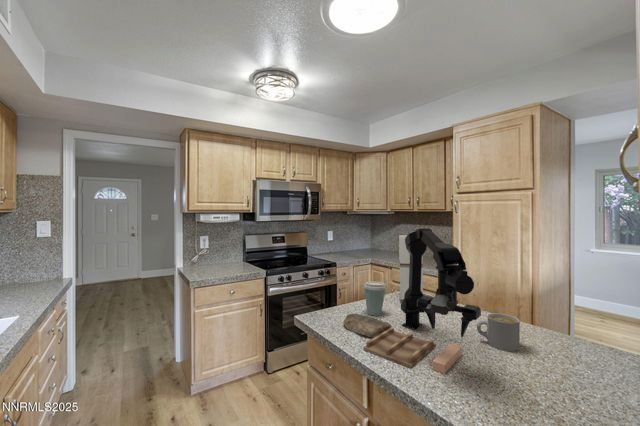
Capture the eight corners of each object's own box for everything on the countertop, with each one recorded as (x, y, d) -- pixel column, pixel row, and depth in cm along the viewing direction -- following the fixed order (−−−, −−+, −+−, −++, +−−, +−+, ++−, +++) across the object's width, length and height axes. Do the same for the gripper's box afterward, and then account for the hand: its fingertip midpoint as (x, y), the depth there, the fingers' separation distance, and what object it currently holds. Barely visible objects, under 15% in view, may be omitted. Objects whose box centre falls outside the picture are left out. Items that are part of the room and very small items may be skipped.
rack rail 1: (391, 331, 120) (391, 327, 120) (394, 331, 119) (394, 327, 119) (366, 346, 106) (366, 342, 106) (368, 347, 106) (368, 343, 106)
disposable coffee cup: (363, 309, 148) (363, 279, 148) (385, 310, 147) (385, 279, 147) (363, 317, 138) (363, 284, 138) (387, 318, 136) (387, 285, 136)
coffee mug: (520, 343, 110) (520, 316, 109) (518, 354, 102) (518, 325, 102) (479, 334, 118) (479, 309, 118) (475, 343, 110) (475, 317, 110)
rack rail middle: (410, 336, 114) (410, 332, 114) (412, 337, 113) (412, 333, 113) (386, 354, 101) (386, 349, 101) (388, 355, 100) (388, 350, 100)
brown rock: (335, 326, 129) (371, 341, 113) (335, 315, 129) (371, 328, 113) (357, 319, 138) (393, 331, 122) (357, 308, 138) (393, 319, 122)
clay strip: (450, 351, 105) (450, 343, 105) (461, 355, 102) (461, 346, 102) (432, 370, 93) (432, 361, 93) (444, 374, 91) (444, 365, 91)
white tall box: (420, 298, 165) (420, 235, 164) (422, 304, 154) (422, 237, 154) (399, 297, 167) (399, 235, 167) (400, 303, 157) (399, 237, 156)
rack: (392, 332, 121) (392, 330, 121) (436, 346, 108) (436, 343, 108) (363, 350, 106) (363, 347, 106) (410, 368, 94) (410, 365, 94)
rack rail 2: (431, 343, 109) (431, 338, 109) (433, 344, 108) (433, 339, 108) (408, 362, 95) (407, 357, 95) (410, 363, 95) (410, 358, 95)
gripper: (409, 285, 98) (409, 332, 98) (470, 296, 85) (470, 350, 85) (423, 279, 106) (423, 322, 106) (481, 288, 93) (481, 338, 93)
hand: (447, 332), depth 98 cm, fingers open, 9 cm apart
